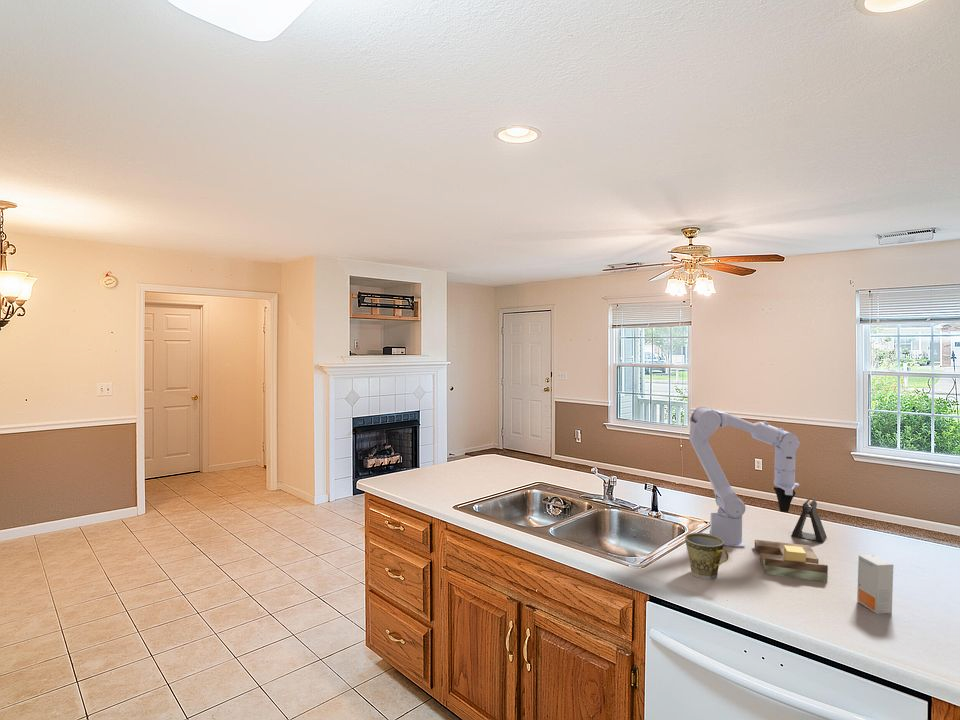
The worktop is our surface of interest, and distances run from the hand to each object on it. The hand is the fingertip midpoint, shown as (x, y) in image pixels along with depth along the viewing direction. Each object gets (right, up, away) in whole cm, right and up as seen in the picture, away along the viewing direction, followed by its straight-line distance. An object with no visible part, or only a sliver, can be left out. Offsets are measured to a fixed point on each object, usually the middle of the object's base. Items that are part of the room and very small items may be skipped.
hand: (783, 511), depth 170 cm
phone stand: (+12, -10, +6) cm, 17 cm away
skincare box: (-1, -12, -40) cm, 42 cm away
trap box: (-7, -11, -14) cm, 19 cm away
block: (-9, -9, -21) cm, 24 cm away
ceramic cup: (-34, -12, -22) cm, 42 cm away
